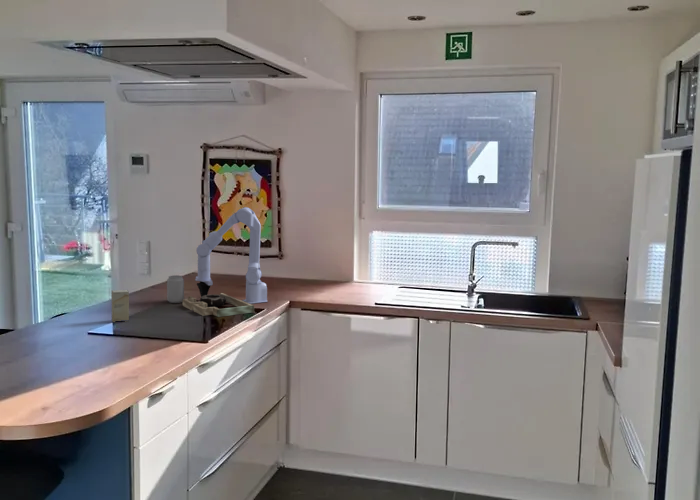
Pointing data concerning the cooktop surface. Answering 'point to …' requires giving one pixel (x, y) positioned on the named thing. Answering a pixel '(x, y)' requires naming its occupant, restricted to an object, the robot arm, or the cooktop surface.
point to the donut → (213, 300)
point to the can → (175, 289)
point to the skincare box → (120, 305)
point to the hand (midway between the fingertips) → (203, 298)
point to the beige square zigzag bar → (203, 310)
